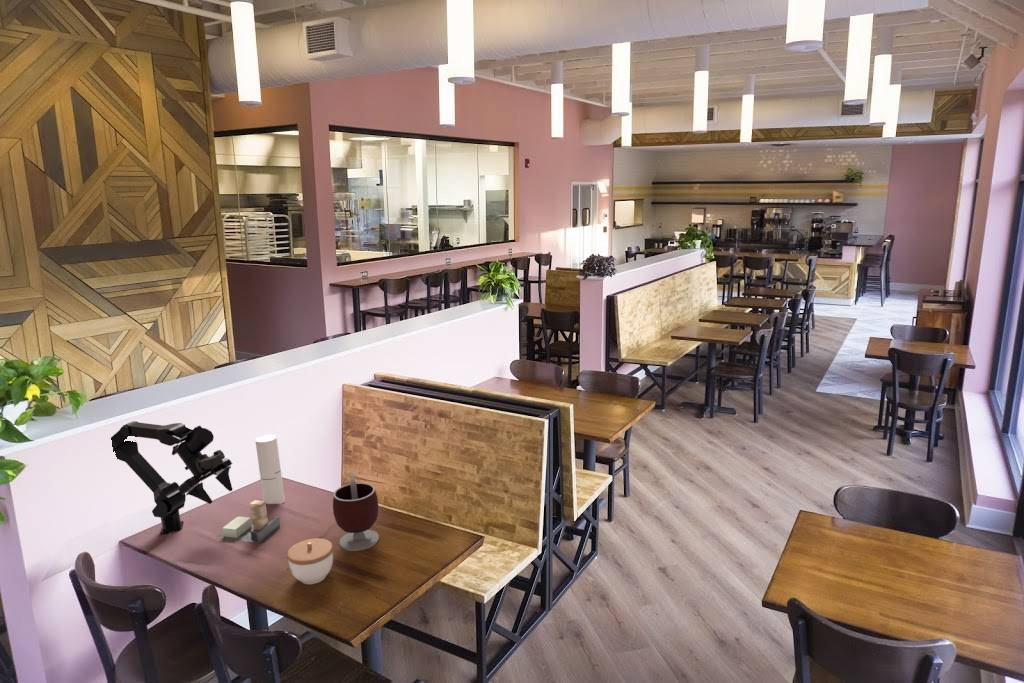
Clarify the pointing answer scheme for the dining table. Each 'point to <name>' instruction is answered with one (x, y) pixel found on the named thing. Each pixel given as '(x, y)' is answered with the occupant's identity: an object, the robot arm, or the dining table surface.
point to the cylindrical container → (270, 469)
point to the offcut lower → (238, 532)
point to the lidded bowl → (311, 560)
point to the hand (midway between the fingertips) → (221, 496)
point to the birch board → (258, 514)
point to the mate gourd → (356, 514)
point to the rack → (256, 533)
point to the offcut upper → (236, 525)
